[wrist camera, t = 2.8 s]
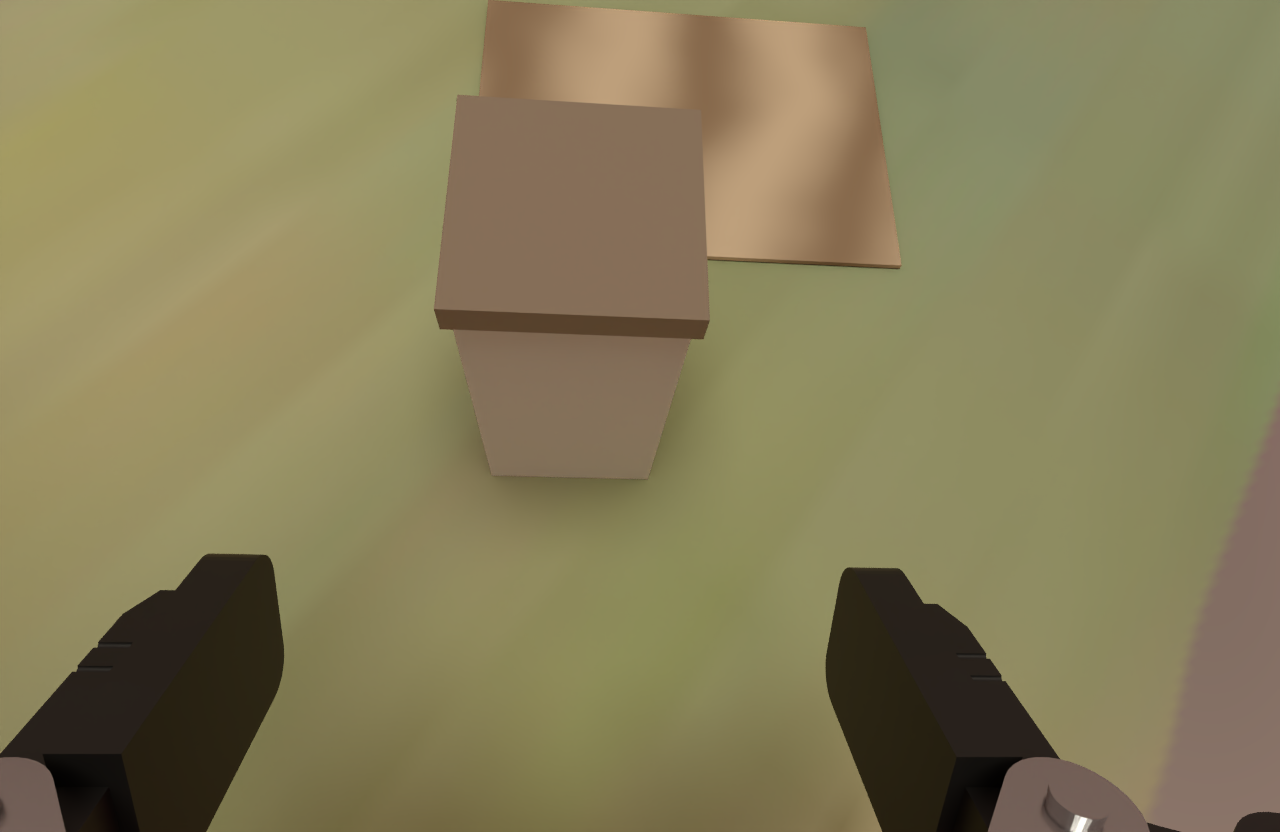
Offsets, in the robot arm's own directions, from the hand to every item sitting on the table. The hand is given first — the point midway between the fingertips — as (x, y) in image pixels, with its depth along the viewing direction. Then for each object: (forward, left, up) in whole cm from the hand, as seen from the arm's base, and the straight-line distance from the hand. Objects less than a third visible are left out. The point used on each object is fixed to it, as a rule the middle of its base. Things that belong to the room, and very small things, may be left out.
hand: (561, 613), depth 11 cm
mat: (+4, +21, -13) cm, 25 cm away
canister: (0, +9, -13) cm, 16 cm away
